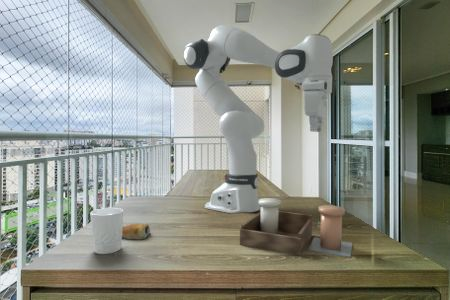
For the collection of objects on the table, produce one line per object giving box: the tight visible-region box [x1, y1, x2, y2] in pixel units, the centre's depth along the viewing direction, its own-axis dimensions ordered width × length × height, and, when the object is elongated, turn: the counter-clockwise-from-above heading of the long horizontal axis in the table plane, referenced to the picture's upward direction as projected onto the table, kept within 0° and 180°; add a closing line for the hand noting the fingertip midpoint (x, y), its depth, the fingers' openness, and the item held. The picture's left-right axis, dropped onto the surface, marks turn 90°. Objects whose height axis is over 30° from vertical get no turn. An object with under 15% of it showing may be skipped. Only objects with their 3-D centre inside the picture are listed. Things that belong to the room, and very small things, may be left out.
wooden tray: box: [239, 208, 313, 256], centre depth 83 cm, size 16×16×7 cm
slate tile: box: [307, 237, 354, 259], centre depth 78 cm, size 10×10×1 cm
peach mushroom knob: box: [318, 204, 346, 250], centre depth 77 cm, size 6×6×10 cm
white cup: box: [89, 207, 124, 255], centre depth 77 cm, size 8×8×10 cm
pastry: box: [122, 222, 151, 240], centre depth 87 cm, size 9×7×4 cm
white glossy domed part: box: [258, 197, 282, 234], centre depth 87 cm, size 6×6×10 cm
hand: (315, 131), depth 94 cm, fingers open, 8 cm apart
